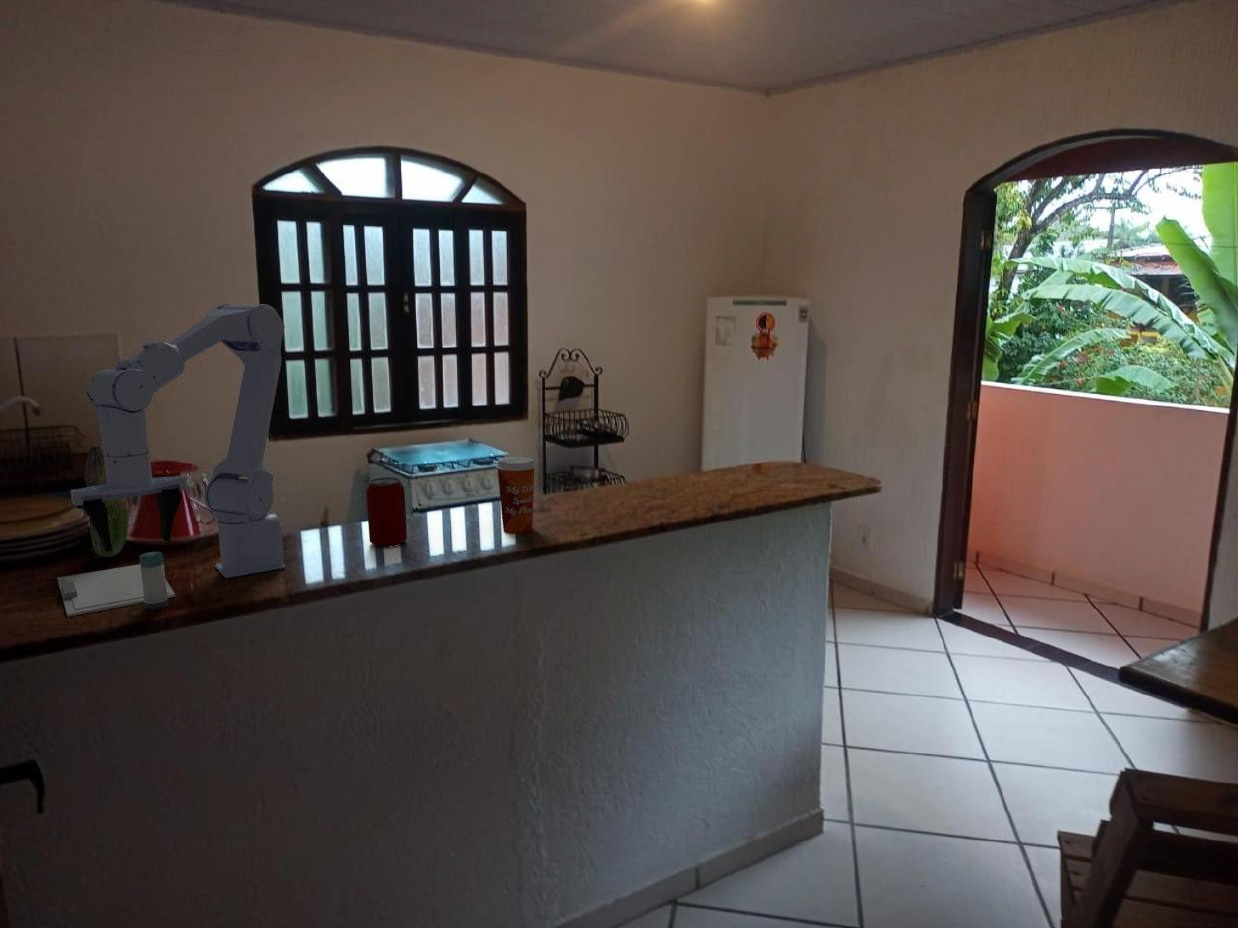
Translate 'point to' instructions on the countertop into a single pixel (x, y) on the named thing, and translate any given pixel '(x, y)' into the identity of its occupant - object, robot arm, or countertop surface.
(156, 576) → the white cylinder
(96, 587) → the clipboard
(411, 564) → the countertop surface
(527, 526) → the paper cup
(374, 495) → the beverage can
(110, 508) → the vegetable
